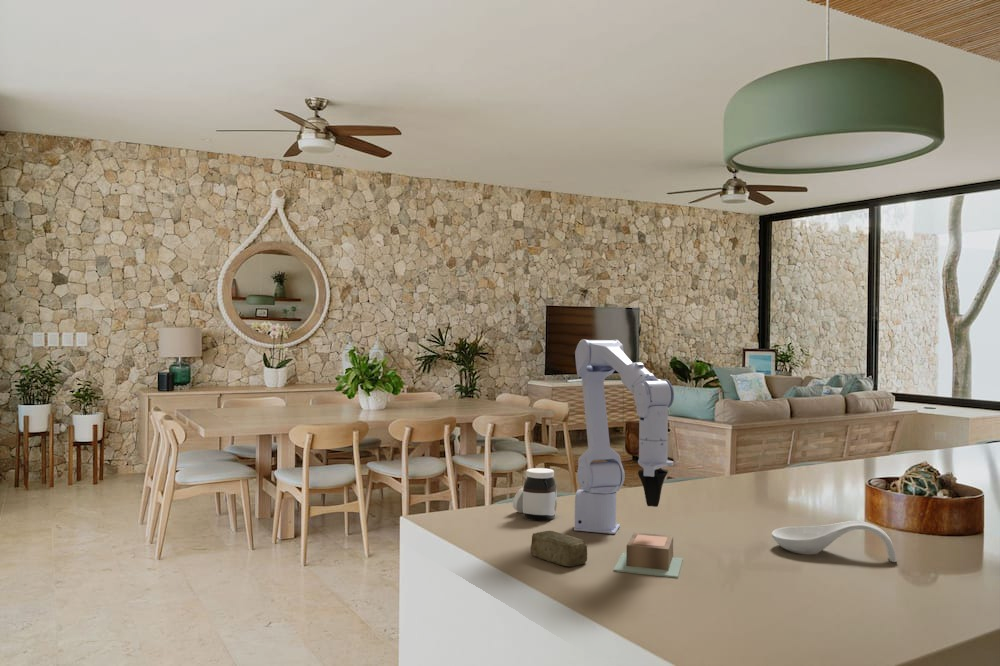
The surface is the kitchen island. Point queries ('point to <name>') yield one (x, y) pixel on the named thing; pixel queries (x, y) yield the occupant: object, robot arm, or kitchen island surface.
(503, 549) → the kitchen island surface
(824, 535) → the spoon rest
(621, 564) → the mat
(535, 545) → the stone block
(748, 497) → the kitchen island surface
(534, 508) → the spread jar
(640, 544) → the walnut block
